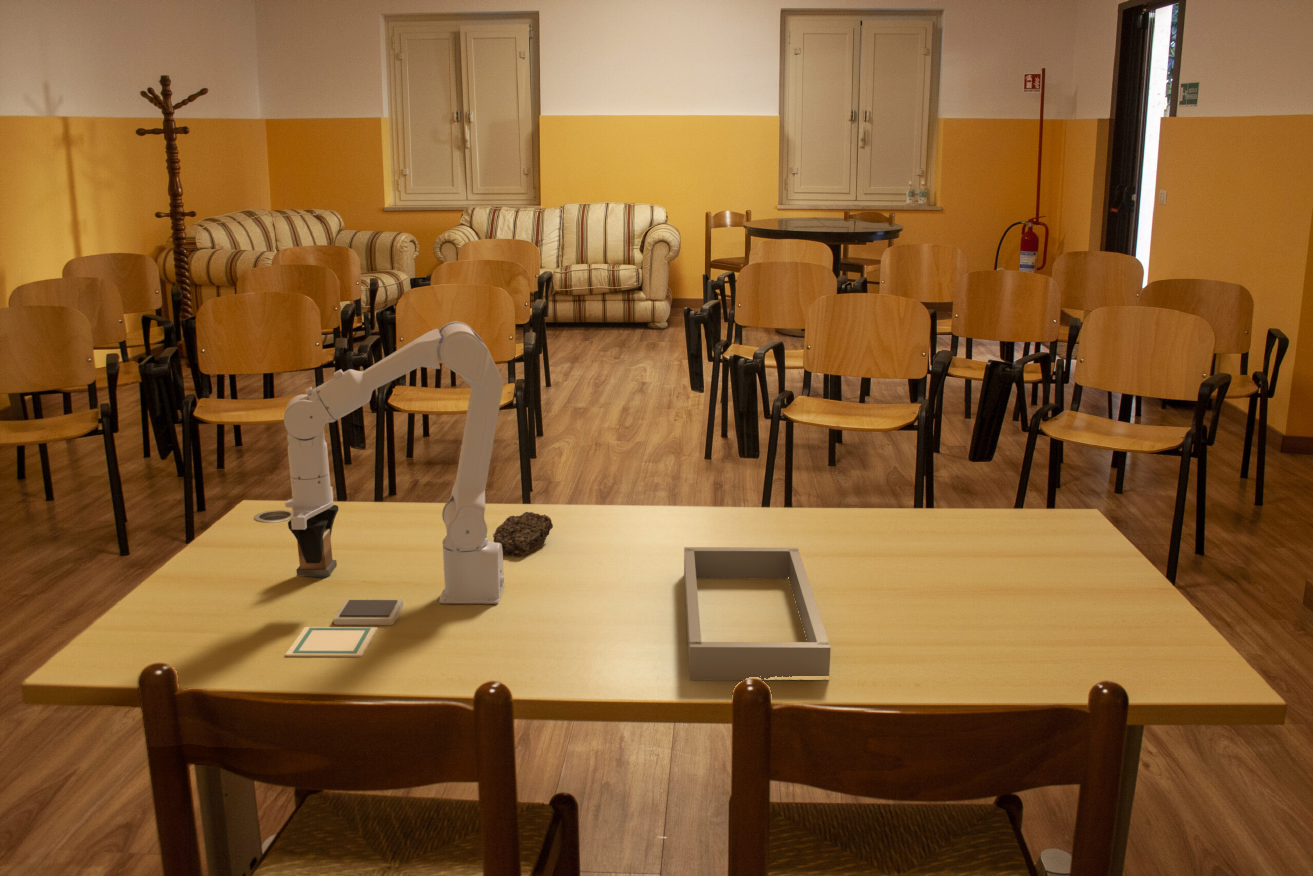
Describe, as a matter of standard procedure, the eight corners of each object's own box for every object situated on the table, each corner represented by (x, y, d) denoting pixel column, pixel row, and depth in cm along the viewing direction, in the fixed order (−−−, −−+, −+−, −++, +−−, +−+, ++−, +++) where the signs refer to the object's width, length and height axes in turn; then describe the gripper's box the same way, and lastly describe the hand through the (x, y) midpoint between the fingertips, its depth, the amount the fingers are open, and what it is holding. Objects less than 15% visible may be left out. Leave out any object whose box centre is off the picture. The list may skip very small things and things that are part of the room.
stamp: (336, 565, 174) (333, 528, 172) (329, 575, 170) (325, 537, 168) (305, 565, 174) (301, 528, 172) (297, 575, 170) (293, 537, 168)
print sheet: (377, 629, 167) (377, 626, 167) (362, 656, 158) (361, 654, 158) (305, 628, 167) (304, 626, 167) (285, 656, 158) (285, 653, 158)
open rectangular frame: (796, 575, 187) (797, 547, 186) (828, 680, 152) (830, 647, 150) (684, 574, 187) (684, 547, 186) (689, 680, 152) (690, 647, 150)
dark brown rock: (521, 530, 208) (520, 505, 207) (562, 542, 202) (561, 516, 201) (478, 548, 199) (477, 522, 198) (520, 561, 194) (519, 534, 192)
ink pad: (403, 605, 175) (402, 598, 175) (393, 624, 168) (392, 617, 168) (346, 605, 175) (346, 598, 175) (334, 624, 168) (333, 616, 168)
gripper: (298, 460, 174) (306, 540, 178) (267, 489, 160) (275, 575, 164) (343, 460, 174) (349, 540, 178) (315, 489, 160) (323, 575, 164)
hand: (317, 557), depth 171 cm, fingers closed on stamp, 3 cm apart
